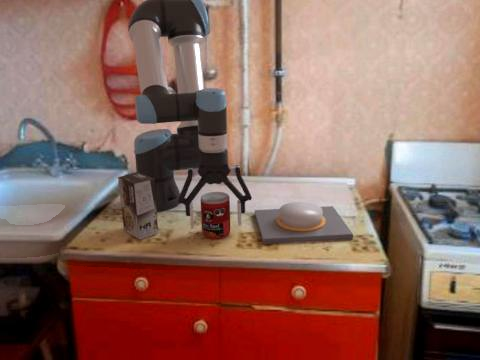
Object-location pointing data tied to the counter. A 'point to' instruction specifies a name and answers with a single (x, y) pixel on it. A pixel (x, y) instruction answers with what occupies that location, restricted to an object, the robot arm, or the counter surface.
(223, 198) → the canned food
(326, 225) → the base
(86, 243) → the counter surface
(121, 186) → the coffee box
